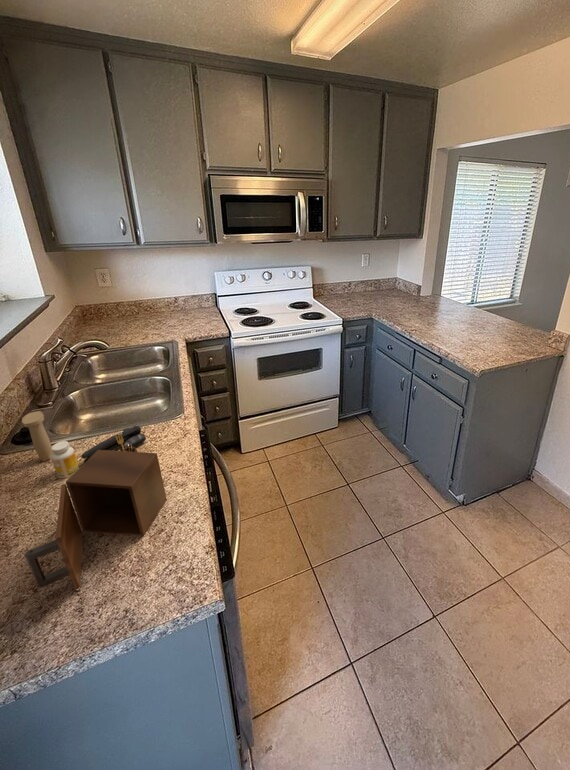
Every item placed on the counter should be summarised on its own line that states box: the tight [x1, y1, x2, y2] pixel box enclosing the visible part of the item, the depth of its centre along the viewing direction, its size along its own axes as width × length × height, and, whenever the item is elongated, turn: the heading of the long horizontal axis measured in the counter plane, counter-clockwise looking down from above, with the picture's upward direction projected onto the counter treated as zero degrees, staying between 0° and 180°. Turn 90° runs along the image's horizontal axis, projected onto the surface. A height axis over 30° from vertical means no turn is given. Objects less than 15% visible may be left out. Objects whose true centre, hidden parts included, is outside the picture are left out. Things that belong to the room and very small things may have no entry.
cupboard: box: [65, 450, 168, 537], centre depth 88 cm, size 11×16×16 cm
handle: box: [21, 410, 53, 462], centre depth 107 cm, size 5×6×15 cm
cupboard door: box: [24, 483, 83, 590], centre depth 75 cm, size 6×16×15 cm, turn 31°
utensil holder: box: [114, 431, 138, 452], centre depth 103 cm, size 6×6×12 cm
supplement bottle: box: [51, 440, 80, 479], centre depth 103 cm, size 5×5×10 cm
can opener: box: [80, 425, 147, 464], centre depth 112 cm, size 18×7×6 cm, turn 134°
